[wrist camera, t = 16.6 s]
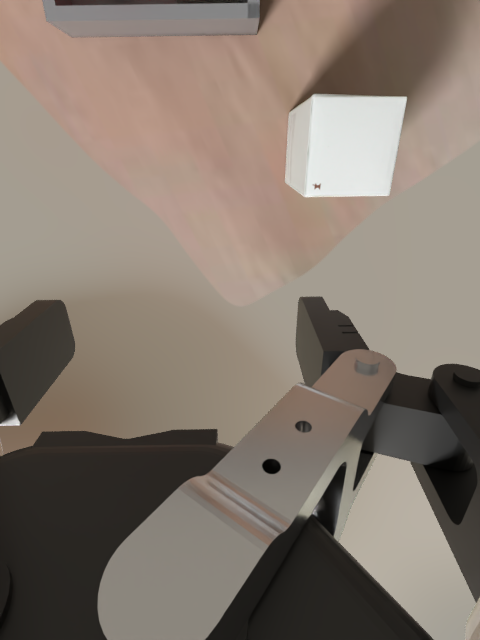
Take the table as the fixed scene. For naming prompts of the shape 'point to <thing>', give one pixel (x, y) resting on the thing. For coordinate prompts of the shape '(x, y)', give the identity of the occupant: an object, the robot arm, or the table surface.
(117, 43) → the table surface
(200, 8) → the tote
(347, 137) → the supplement box
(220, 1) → the cream box
